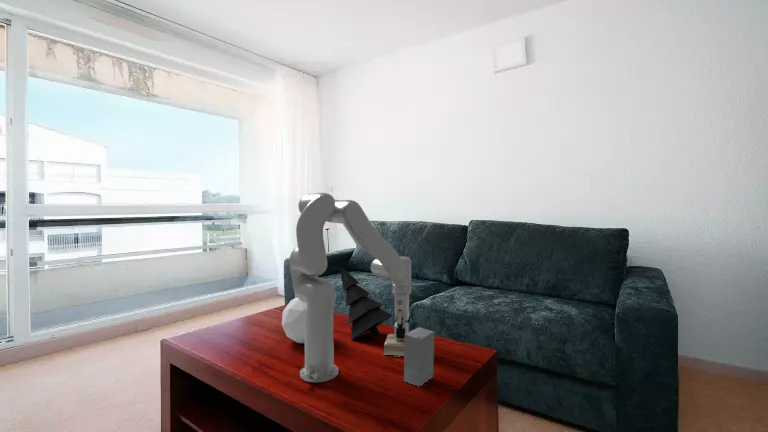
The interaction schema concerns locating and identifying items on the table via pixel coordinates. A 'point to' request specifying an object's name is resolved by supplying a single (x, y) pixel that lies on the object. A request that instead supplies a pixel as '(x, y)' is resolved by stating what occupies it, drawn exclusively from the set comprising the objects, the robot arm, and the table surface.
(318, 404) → the table surface
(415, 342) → the skincare box
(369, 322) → the decorative tree
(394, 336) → the block
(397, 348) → the plinth
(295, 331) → the geometric sculpture
